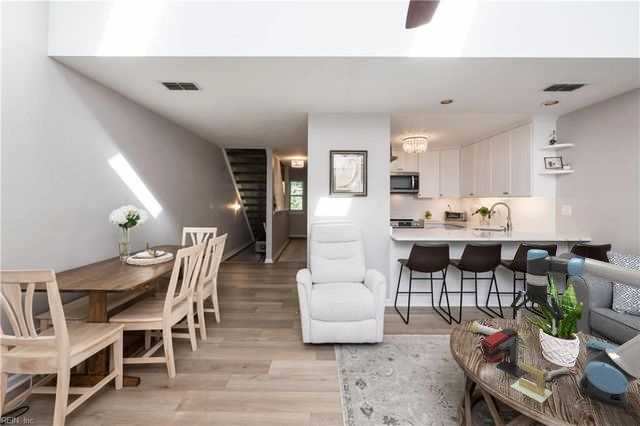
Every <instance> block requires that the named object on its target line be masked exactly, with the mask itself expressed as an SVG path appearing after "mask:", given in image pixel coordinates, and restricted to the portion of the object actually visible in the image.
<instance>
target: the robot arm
mask: <svg viewBox="0 0 640 426" xmlns="http://www.w3.org/2000/svg"><path fill="white" fill-rule="evenodd" d="M548 252H549V251H547V250H543V249H529V250H528V251H527V255H526V291H525V290H523V289H519V290H518V293H517V296H516V297H515V298H514V300H513V301H512V303H511V304H510V308H513V309H514V316H515V317H516V324H517V325H520V324H521V323H522V309H520V308H522V307H523V306H524V305H526V304H527V303H528V302H531V303H533V304H537V305H542V307H544V308H545V309H546V311H547V312H548V313H549V314H550V316H551V317H552V318H553V319H552V335H554V336H556V335H557V334H558V333H557V329H559V328H560V326H561V325H560V324H561V323H560V322H561V321H565V320H566V317H565V314H564V313H563V311H562V309H561V307H560V305H559V303H558V302H557V297H556V296H548V285H547V284H548V273H552V274H560V275H564V276H565V275H567V276H571V277H575V276H576V277H583V276H584V275H586V276H589V277H593V278H597V279H601V280H603V281H608V282H612V283H615V284H618V285H622V286H626V287H629V288H634V289H636V290H640V270H639V269H633V268H629V267H626V266H621V265H617V264H614V263H610V262H606V261H602V260H601V261H600V260H597V259H593V258H588V257H584V256H580V255H577V254H575V253H574V252H573V253H572V252H564V253H561V254H560V255H558V256H555V255H549V253H548ZM524 295H525V296H526V297H527V298H526V299H525V300H523V301H522V302H520V303H519V301H520V299H521V298H522V297H523V296H524ZM548 300H549V302H550V303H551V305H552V307H551V305H550V304H549V303H548ZM518 303H519V304H518ZM517 304H518V305H517ZM553 308H554V309H553ZM585 354H586V355H585V356H586V358H585V366H584V373H583V375H582V377H581V378H580V380H579V382H578V384H579V386H578V387H579V390H581V392H582V393H584V394H585V395H586V396H587V397H590V398H592V399H593V400H595V401H598V402H599V403H603V404H605V405H607V406H608V405H609V406H612V407H617V408H626V407H627V406H629V405H628V404H629V397H628V395H627V392H626V391H627V389H628V388H629V385H630V384H631V383H633V382H635V381H636V380H638V379H640V333H639V334H637V335H636V336H634V337H633V338H632V339H629V340H627V342H625V343H623V344H621V345H620V346H618V345H615V344H611V343H608V342H606V341H605V342H604V341H600V340H595V339H590V340H587V342H586V353H585Z"/></svg>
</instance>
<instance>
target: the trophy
mask: <svg viewBox="0 0 640 426" xmlns="http://www.w3.org/2000/svg"><path fill="white" fill-rule="evenodd" d="M471 328H472V329H471V330H472V333H474V334H475V333H483V334H485V335H489V336H490V335H492V334H494V333H496V332H497V331H498V332H500V331H501V330H504V329H502V327H501V326H500V327H499V328H498V329H497V328H492V327H490V326H489V327H488V326H486V325H482V324H480V323H479V322H478V321H476V320H474V321H473V323H472V326H471ZM517 332H518V335H519V337H518V338H519V339H518V349H519V348H520V349H522V350H526V351H529V349H530V347H529V345H528V344H527V343H525V342H526V340H528V339H529V338H530V336H531V334H528V333H524V332H520V331H517Z"/></svg>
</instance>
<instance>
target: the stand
mask: <svg viewBox="0 0 640 426" xmlns="http://www.w3.org/2000/svg"><path fill="white" fill-rule="evenodd" d="M518 339H519V338H516V337H514V336H513V337H511V339H509V340H507V341H505V342H503V343H502V344H500V345H498V349H501V350H503V349H504V348H506V347H508V346H510V345H511V350H510V354H509V361H508V360H506V359H505V360H502V361H501V362H499V363H498V364H496V365H495V367H496V368H497V369H499V370H501V371H503V372H504V373H506V374H509V375H510V376H513V377H515V378H517V379H520V378H522V376H523V375H525V374H527V373H528V372H527V371H525V370H523V369H521V368H520V365H518V359H519V357H518V355H519V347H518Z"/></svg>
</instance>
